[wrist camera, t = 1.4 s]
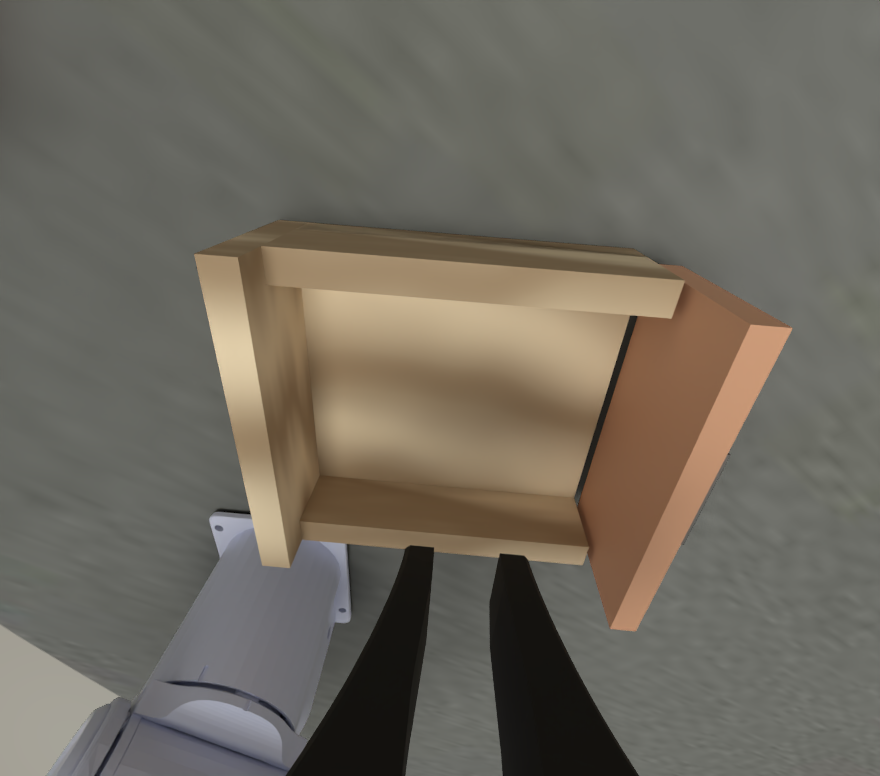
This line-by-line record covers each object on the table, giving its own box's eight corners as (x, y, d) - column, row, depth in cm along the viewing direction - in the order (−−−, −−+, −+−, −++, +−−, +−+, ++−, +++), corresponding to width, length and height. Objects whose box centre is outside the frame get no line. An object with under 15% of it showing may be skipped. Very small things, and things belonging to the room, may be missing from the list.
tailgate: (606, 515, 22) (651, 632, 16) (575, 512, 22) (609, 628, 16) (698, 267, 15) (817, 330, 10) (654, 263, 15) (750, 324, 10)
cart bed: (562, 494, 23) (591, 595, 18) (307, 471, 23) (262, 565, 18) (633, 248, 17) (709, 296, 11) (278, 219, 17) (194, 254, 12)
